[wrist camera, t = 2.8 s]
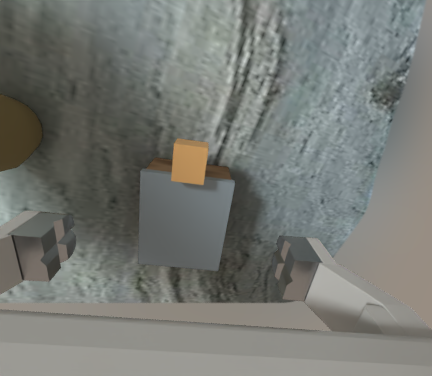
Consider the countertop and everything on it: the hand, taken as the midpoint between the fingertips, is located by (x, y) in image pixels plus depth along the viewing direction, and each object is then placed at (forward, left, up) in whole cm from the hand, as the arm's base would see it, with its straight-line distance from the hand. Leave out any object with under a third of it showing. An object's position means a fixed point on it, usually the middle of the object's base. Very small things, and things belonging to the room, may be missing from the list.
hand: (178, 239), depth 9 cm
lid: (0, -6, -15) cm, 17 cm away
